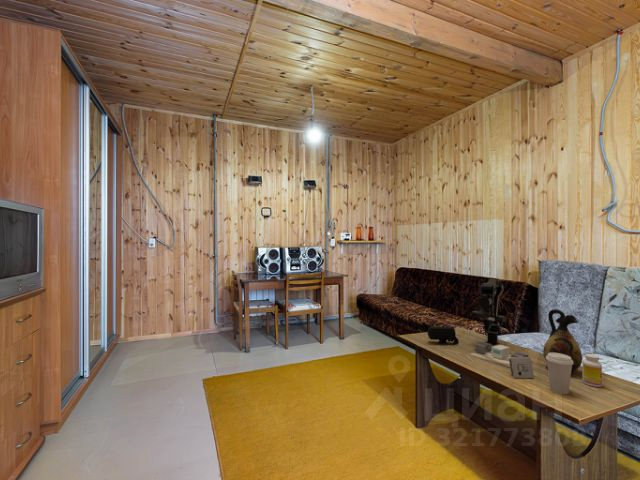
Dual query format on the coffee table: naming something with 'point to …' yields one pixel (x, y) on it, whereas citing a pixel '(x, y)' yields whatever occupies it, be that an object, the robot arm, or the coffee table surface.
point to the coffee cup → (559, 372)
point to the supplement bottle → (592, 371)
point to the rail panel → (485, 353)
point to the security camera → (443, 334)
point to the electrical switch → (521, 367)
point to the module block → (500, 351)
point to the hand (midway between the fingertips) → (487, 330)
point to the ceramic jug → (563, 339)
